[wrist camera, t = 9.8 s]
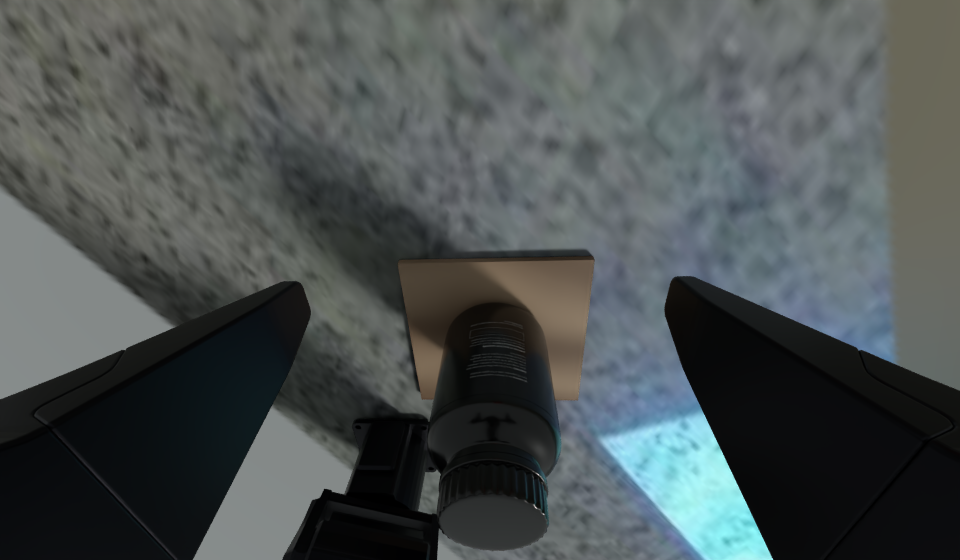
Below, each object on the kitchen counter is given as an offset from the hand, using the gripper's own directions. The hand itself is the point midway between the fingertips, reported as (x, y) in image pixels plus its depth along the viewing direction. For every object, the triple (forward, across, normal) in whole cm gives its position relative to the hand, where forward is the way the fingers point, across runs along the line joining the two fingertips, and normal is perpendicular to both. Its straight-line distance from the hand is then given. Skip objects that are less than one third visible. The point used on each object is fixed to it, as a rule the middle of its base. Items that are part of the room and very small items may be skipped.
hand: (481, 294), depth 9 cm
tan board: (+13, 0, +12) cm, 18 cm away
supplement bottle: (+13, 0, +12) cm, 17 cm away
